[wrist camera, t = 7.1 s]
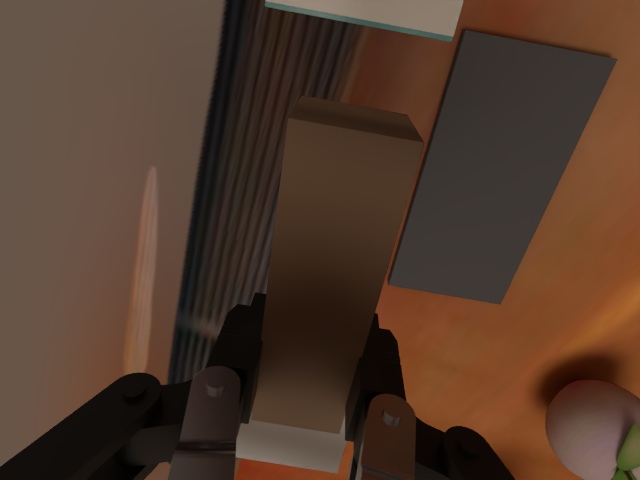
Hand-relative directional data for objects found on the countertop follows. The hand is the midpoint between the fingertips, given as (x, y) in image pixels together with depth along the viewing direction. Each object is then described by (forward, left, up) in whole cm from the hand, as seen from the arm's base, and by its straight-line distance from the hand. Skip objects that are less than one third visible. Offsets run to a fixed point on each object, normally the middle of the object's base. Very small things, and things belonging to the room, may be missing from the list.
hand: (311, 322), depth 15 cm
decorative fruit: (-28, +19, -19) cm, 39 cm away
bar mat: (-12, 0, -19) cm, 22 cm away
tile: (0, -10, -19) cm, 22 cm away
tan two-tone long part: (0, 0, -1) cm, 1 cm away
